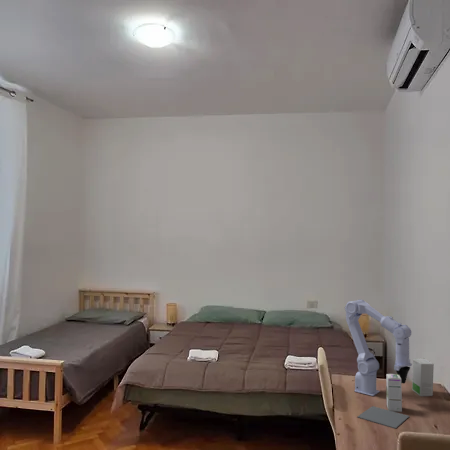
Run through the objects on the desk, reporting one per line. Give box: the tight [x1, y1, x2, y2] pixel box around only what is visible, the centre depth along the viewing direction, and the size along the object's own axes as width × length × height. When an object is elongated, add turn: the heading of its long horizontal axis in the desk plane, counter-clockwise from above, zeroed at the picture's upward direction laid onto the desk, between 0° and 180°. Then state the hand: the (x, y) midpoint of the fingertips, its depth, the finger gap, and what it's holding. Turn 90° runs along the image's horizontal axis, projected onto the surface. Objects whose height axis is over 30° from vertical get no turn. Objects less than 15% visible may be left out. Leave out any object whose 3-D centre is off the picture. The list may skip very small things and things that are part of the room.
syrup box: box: [385, 373, 403, 413], centre depth 198 cm, size 6×6×14 cm
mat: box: [356, 405, 410, 429], centre depth 190 cm, size 16×15×1 cm
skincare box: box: [411, 357, 435, 397], centre depth 217 cm, size 8×7×16 cm
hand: (402, 382), depth 206 cm, fingers closed
